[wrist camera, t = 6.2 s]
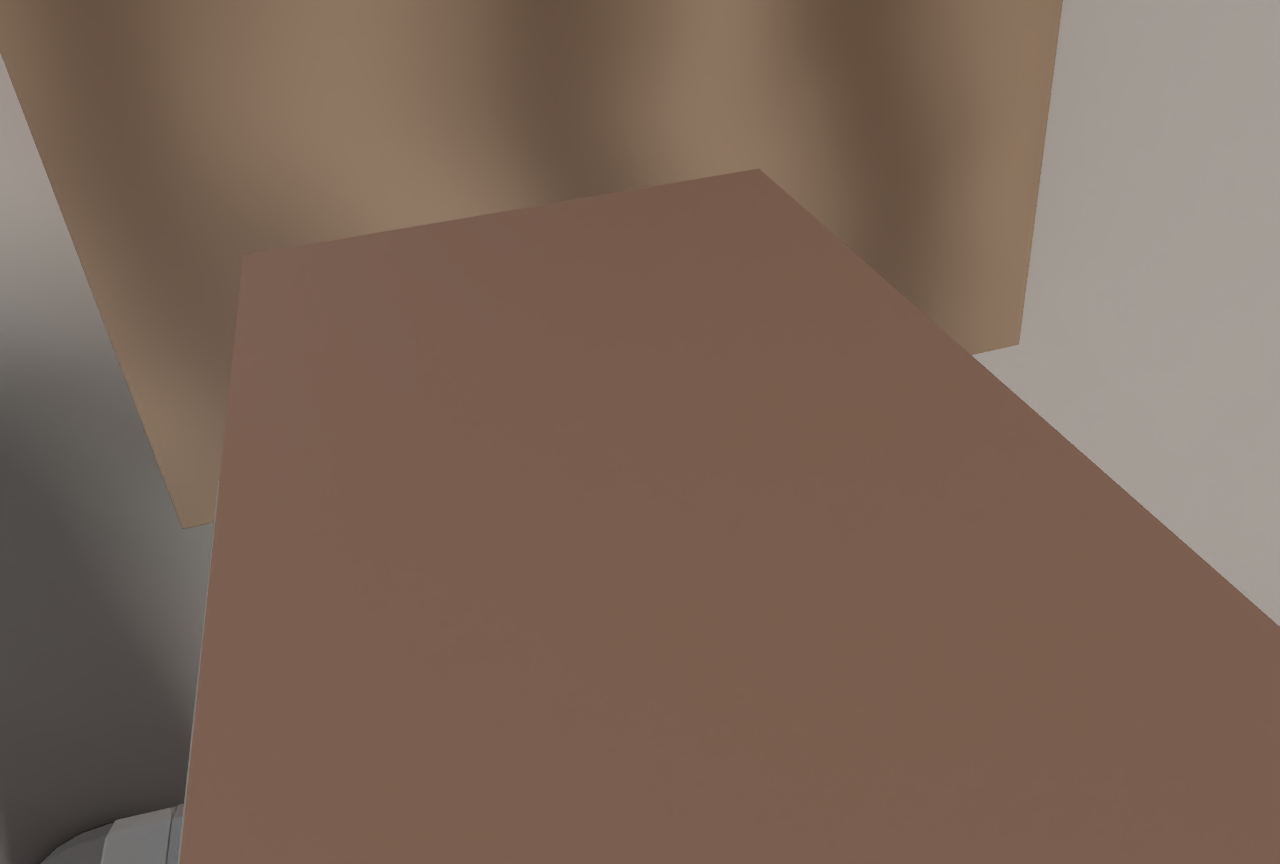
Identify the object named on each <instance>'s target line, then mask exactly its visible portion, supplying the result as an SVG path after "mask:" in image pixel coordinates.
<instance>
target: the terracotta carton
mask: <svg viewBox="0 0 1280 864" xmlns="http://www.w3.org/2000/svg"><path fill="white" fill-rule="evenodd" d="M178 864H1280V627H1279V626H1278V625H1277V624H1276V623H1275V622H1274V621H1273V620H1271V619H1270V618H1269V617H1268V616H1267V615H1266V614H1265V613H1263V612H1262V611H1261V610H1260V609H1259V608H1258V607H1257V606H1255V605H1254V604H1253V603H1252V602H1251V601H1250V600H1249V599H1248V598H1246V597H1245V596H1244V595H1243V594H1242V593H1241V592H1240V591H1238V590H1237V589H1236V588H1235V587H1234V586H1233V585H1232V584H1230V583H1229V582H1228V581H1227V580H1226V579H1225V578H1224V577H1223V576H1221V575H1220V574H1219V573H1218V572H1217V571H1216V570H1215V569H1213V568H1212V567H1211V566H1210V565H1209V564H1208V563H1207V562H1205V561H1204V560H1203V559H1202V558H1201V557H1200V556H1199V555H1198V554H1196V553H1195V552H1194V551H1193V550H1192V549H1191V548H1190V547H1188V546H1187V545H1186V544H1185V543H1184V542H1183V541H1182V540H1180V539H1179V538H1178V537H1177V536H1176V535H1175V534H1174V533H1173V532H1171V531H1170V530H1169V529H1168V528H1167V527H1166V526H1165V525H1163V524H1162V523H1161V522H1160V521H1159V520H1158V519H1157V518H1155V517H1154V516H1153V515H1152V514H1151V513H1150V512H1149V511H1148V510H1146V509H1145V508H1144V507H1143V506H1142V505H1141V504H1140V503H1138V502H1137V501H1136V500H1135V499H1134V498H1133V497H1132V496H1130V495H1129V494H1128V493H1127V492H1126V491H1125V490H1124V489H1123V488H1121V487H1120V486H1119V485H1118V484H1117V483H1116V482H1115V481H1113V480H1112V479H1111V478H1110V477H1109V476H1108V475H1107V474H1105V473H1104V472H1103V471H1102V470H1101V469H1100V468H1099V467H1098V466H1096V465H1095V464H1094V463H1093V462H1092V461H1091V460H1090V459H1088V458H1087V457H1086V456H1085V455H1084V454H1083V453H1082V452H1080V451H1079V450H1078V449H1077V448H1076V447H1075V446H1074V445H1073V444H1071V443H1070V442H1069V441H1068V440H1067V439H1066V438H1065V437H1063V436H1062V435H1061V434H1060V433H1059V432H1058V431H1057V430H1055V429H1054V428H1053V427H1052V426H1051V425H1050V424H1049V423H1048V422H1046V421H1045V420H1044V419H1043V418H1042V417H1041V416H1040V415H1038V414H1037V413H1036V412H1035V411H1034V410H1033V409H1032V408H1030V407H1029V406H1028V405H1027V404H1026V403H1025V402H1024V401H1023V400H1021V399H1020V398H1019V397H1018V396H1017V395H1016V394H1015V393H1013V392H1012V391H1011V390H1010V389H1009V388H1008V387H1007V386H1005V385H1004V384H1003V383H1002V382H1001V381H1000V380H999V379H998V378H996V377H995V376H994V375H993V374H992V373H991V372H990V371H988V370H987V369H986V368H985V367H984V366H983V365H982V364H981V363H979V362H978V361H977V360H976V359H975V358H974V357H973V356H971V355H970V354H969V353H968V352H967V351H966V350H965V349H963V348H962V347H961V346H960V345H959V344H958V343H957V342H956V341H954V340H953V339H952V338H951V337H950V336H949V335H948V334H946V333H945V332H944V331H943V330H942V329H941V328H940V327H938V326H937V325H936V324H935V323H934V322H933V321H932V320H931V319H929V318H928V317H927V316H926V315H925V314H924V313H923V312H921V311H920V310H919V309H918V308H917V307H916V306H915V305H913V304H912V303H911V302H910V301H909V300H908V299H907V298H906V297H904V296H903V295H902V294H901V293H900V292H899V291H898V290H896V289H895V288H894V287H893V286H892V285H891V284H890V283H888V282H887V281H886V280H885V279H884V278H883V277H882V276H881V275H879V274H878V273H877V272H876V271H875V270H874V269H873V268H871V267H870V266H869V265H868V264H867V263H866V262H865V261H863V260H862V259H861V258H860V257H859V256H858V255H857V254H856V253H854V252H853V251H852V250H851V249H850V248H849V247H848V246H846V245H845V244H844V243H843V242H842V241H841V240H840V239H838V238H837V237H836V236H835V235H834V234H833V233H832V232H831V231H829V230H828V229H827V228H826V227H825V226H824V225H823V224H821V223H820V222H819V221H818V220H817V219H816V218H815V217H813V216H812V215H811V214H810V213H809V212H808V211H807V210H806V209H804V208H803V207H802V206H801V205H800V204H799V203H798V202H796V201H795V200H794V199H793V198H792V197H791V196H790V195H788V194H787V193H786V192H785V191H784V190H783V189H782V188H781V187H779V186H778V185H777V184H776V183H775V182H774V181H773V180H771V179H770V178H769V177H768V176H767V175H766V174H765V173H763V172H762V171H761V170H760V169H753V170H747V171H741V172H735V173H729V174H723V175H717V176H711V177H705V178H699V179H693V180H687V181H681V182H675V183H669V184H664V185H658V186H652V187H646V188H640V189H634V190H628V191H622V192H616V193H610V194H604V195H598V196H592V197H586V198H580V199H574V200H568V201H562V202H556V203H550V204H545V205H539V206H533V207H527V208H521V209H515V210H509V211H503V212H497V213H491V214H485V215H479V216H473V217H467V218H461V219H455V220H449V221H443V222H437V223H431V224H426V225H420V226H414V227H408V228H402V229H396V230H390V231H384V232H378V233H372V234H366V235H360V236H354V237H348V238H342V239H336V240H330V241H324V242H318V243H312V244H306V245H301V246H295V247H289V248H283V249H277V250H271V251H265V252H259V253H253V254H247V255H243V262H242V272H241V281H240V291H239V301H238V310H237V320H236V329H235V339H234V348H233V358H232V367H231V377H230V386H229V396H228V405H227V415H226V425H225V434H224V444H223V453H222V463H221V472H220V481H218V489H217V499H216V508H215V517H214V527H213V536H212V545H211V555H210V564H209V574H208V583H207V592H206V602H205V611H204V621H203V630H202V639H201V649H200V658H199V668H198V677H197V686H196V696H195V705H194V714H193V724H192V733H191V743H190V752H189V761H188V771H187V780H186V790H185V799H184V808H183V818H182V827H181V837H180V846H179V855H178Z"/></svg>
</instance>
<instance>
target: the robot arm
mask: <svg viewBox="0 0 1280 864" xmlns="http://www.w3.org/2000/svg"><path fill="white" fill-rule="evenodd" d="M183 808H184V803H183V804H179V805H178V806H175V807H170V808H166V809H162V810H157V811H153V812H149V813H144V814H140V815H135V816H131V817H127V818H122V819H118V820H115V822H114V824H113V826H112V827H111V829H110V831H109V833H108V835H107V836H106V838H105V843H104V848H103V854H102V859H101V864H178V855H179V846H180V837H181V827H182V818H183Z"/></svg>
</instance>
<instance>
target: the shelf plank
mask: <svg viewBox="0 0 1280 864" xmlns="http://www.w3.org/2000/svg"><path fill="white" fill-rule="evenodd" d="M1062 2H1063V0H0V52H1V55H2V58H3V60H4V63H5V66H6V68H7V71H8V73H9V76H10V79H11V81H12V84H13V86H14V89H15V92H16V94H17V97H18V100H19V102H20V105H21V107H22V110H23V113H24V115H25V118H26V120H27V123H28V126H29V128H30V131H31V134H32V136H33V139H34V141H35V144H36V147H37V149H38V152H39V154H40V157H41V160H42V162H43V165H44V168H45V170H46V173H47V175H48V178H49V181H50V183H51V186H52V188H53V191H54V194H55V196H56V199H57V202H58V204H59V207H60V209H61V212H62V215H63V217H64V220H65V222H66V225H67V228H68V230H69V233H70V236H71V238H72V241H73V243H74V246H75V249H76V251H77V254H78V256H79V259H80V262H81V264H82V267H83V270H84V272H85V275H86V277H87V280H88V283H89V285H90V288H91V290H92V293H93V296H94V298H95V301H96V304H97V306H98V309H99V311H100V314H101V317H102V319H103V322H104V324H105V327H106V330H107V332H108V335H109V338H110V340H111V343H112V345H113V348H114V351H115V353H116V356H117V358H118V361H119V364H120V366H121V369H122V372H123V374H124V377H125V379H126V382H127V385H128V387H129V390H130V392H131V395H132V398H133V400H134V403H135V406H136V408H137V411H138V413H139V416H140V419H141V421H142V424H143V426H144V429H145V432H146V434H147V437H148V440H149V442H150V445H151V447H152V450H153V453H154V455H155V458H156V460H157V463H158V466H159V468H160V471H161V474H162V476H163V479H164V481H165V484H166V487H167V489H168V492H169V494H170V497H171V500H172V502H173V505H174V508H175V510H176V513H177V515H178V518H179V521H180V523H181V526H182V528H183V529H185V528H189V527H194V526H198V525H203V524H207V523H212V522H214V517H215V508H216V499H217V489H218V481H220V472H221V463H222V453H223V444H224V434H225V425H226V415H227V405H228V396H229V386H230V377H231V367H232V358H233V348H234V339H235V329H236V320H237V310H238V301H239V291H240V281H241V272H242V262H243V255H247V254H253V253H259V252H265V251H271V250H277V249H283V248H289V247H295V246H301V245H306V244H312V243H318V242H324V241H330V240H336V239H342V238H348V237H354V236H360V235H366V234H372V233H378V232H384V231H390V230H396V229H402V228H408V227H414V226H420V225H426V224H431V223H437V222H443V221H449V220H455V219H461V218H467V217H473V216H479V215H485V214H491V213H497V212H503V211H509V210H515V209H521V208H527V207H533V206H539V205H545V204H550V203H556V202H562V201H568V200H574V199H580V198H586V197H592V196H598V195H604V194H610V193H616V192H622V191H628V190H634V189H640V188H646V187H652V186H658V185H664V184H669V183H675V182H681V181H687V180H693V179H699V178H705V177H711V176H717V175H723V174H729V173H735V172H741V171H747V170H753V169H760V170H761V171H762V172H763V173H765V174H766V175H767V176H768V177H769V178H770V179H771V180H773V181H774V182H775V183H776V184H777V185H778V186H779V187H781V188H782V189H783V190H784V191H785V192H786V193H787V194H788V195H790V196H791V197H792V198H793V199H794V200H795V201H796V202H798V203H799V204H800V205H801V206H802V207H803V208H804V209H806V210H807V211H808V212H809V213H810V214H811V215H812V216H813V217H815V218H816V219H817V220H818V221H819V222H820V223H821V224H823V225H824V226H825V227H826V228H827V229H828V230H829V231H831V232H832V233H833V234H834V235H835V236H836V237H837V238H838V239H840V240H841V241H842V242H843V243H844V244H845V245H846V246H848V247H849V248H850V249H851V250H852V251H853V252H854V253H856V254H857V255H858V256H859V257H860V258H861V259H862V260H863V261H865V262H866V263H867V264H868V265H869V266H870V267H871V268H873V269H874V270H875V271H876V272H877V273H878V274H879V275H881V276H882V277H883V278H884V279H885V280H886V281H887V282H888V283H890V284H891V285H892V286H893V287H894V288H895V289H896V290H898V291H899V292H900V293H901V294H902V295H903V296H904V297H906V298H907V299H908V300H909V301H910V302H911V303H912V304H913V305H915V306H916V307H917V308H918V309H919V310H920V311H921V312H923V313H924V314H925V315H926V316H927V317H928V318H929V319H931V320H932V321H933V322H934V323H935V324H936V325H937V326H938V327H940V328H941V329H942V330H943V331H944V332H945V333H946V334H948V335H949V336H950V337H951V338H952V339H953V340H954V341H956V342H957V343H958V344H959V345H960V346H961V347H962V348H963V349H965V350H966V351H967V352H968V353H969V354H970V355H973V354H978V353H982V352H987V351H991V350H996V349H1000V348H1005V347H1009V346H1014V345H1018V344H1019V340H1020V332H1021V324H1022V316H1023V308H1024V300H1025V292H1026V285H1027V277H1028V269H1029V261H1030V253H1031V245H1032V237H1033V230H1034V222H1035V214H1036V206H1037V198H1038V190H1039V182H1040V175H1041V167H1042V159H1043V151H1044V143H1045V135H1046V127H1047V120H1048V112H1049V104H1050V96H1051V88H1052V80H1053V72H1054V65H1055V57H1056V49H1057V41H1058V33H1059V25H1060V17H1061V9H1062Z"/></svg>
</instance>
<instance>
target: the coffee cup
mask: <svg viewBox="0 0 1280 864" xmlns="http://www.w3.org/2000/svg"><path fill="white" fill-rule="evenodd" d="M113 824H114V823H110V824H107V825H104V826H101V827H98V828H96V829H93V830H90V831H87V832H84V833H81V834H80V835H78V836H76V837H74V838H73V839H71V840H69V841H68V842H66V843H64V844H62V845H61V846H59V847H57V848H56V849H55V850H54V851H53V852H52V853H51V854H50V855H49V856H48V857H47V858H46V859H45V860H44V861H43V862H42V863H40V864H101V859H102V854H103V848H104V843H105V838H106V836H107V835H108V833H109V831H110V829H111V827H112V826H113Z"/></svg>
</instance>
